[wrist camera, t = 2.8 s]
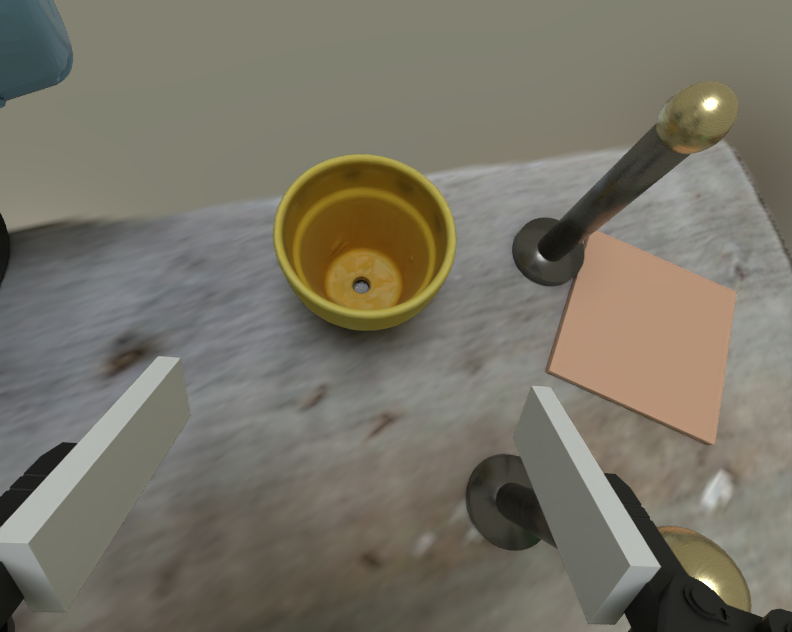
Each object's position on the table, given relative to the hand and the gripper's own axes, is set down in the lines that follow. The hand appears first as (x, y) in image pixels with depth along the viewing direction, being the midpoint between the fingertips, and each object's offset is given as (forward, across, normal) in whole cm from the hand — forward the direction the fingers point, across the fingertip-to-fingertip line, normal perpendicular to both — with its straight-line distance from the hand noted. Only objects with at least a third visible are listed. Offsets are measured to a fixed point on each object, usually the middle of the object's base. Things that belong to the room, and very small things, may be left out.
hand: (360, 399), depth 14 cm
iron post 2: (+6, +11, -13) cm, 19 cm away
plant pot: (+17, 0, -3) cm, 17 cm away
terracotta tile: (+16, +24, -4) cm, 29 cm away
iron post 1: (+20, +15, +1) cm, 25 cm away
